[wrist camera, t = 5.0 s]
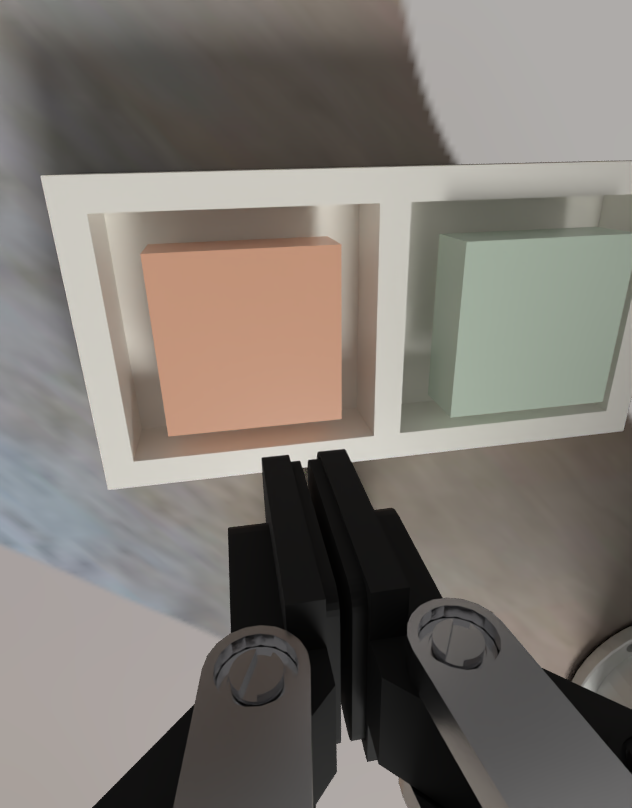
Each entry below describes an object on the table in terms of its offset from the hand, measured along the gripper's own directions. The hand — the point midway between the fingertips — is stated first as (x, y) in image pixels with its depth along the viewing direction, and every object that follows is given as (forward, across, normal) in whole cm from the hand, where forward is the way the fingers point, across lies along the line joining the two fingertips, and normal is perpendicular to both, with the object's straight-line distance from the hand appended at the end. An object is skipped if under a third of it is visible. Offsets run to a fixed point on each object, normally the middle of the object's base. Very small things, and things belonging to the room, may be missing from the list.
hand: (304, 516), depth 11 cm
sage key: (+12, -11, -1) cm, 16 cm away
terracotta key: (+13, 0, -1) cm, 13 cm away
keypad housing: (+16, -5, -1) cm, 17 cm away
